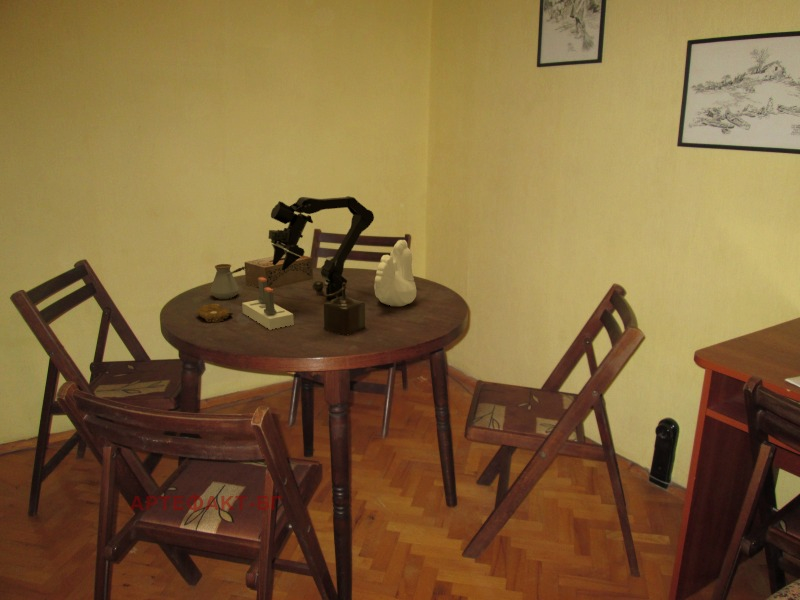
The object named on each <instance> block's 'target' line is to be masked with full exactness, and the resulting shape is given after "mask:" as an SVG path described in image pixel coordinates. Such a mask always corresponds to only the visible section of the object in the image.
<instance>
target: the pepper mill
mask: <svg viewBox="0 0 800 600" xmlns="http://www.w3.org/2000/svg"><path fill="white" fill-rule="evenodd" d="M342 285H343V286H342V288H341V289H340V290H339V291H337V292H335V293H333V294H329V295H326V293H325V292H324V288H325V282H324V281H321V280H316V281H315V282H313V283H312V286H311V287H312V289H313V290H314V291H315V295H316V296H317V297H324V298H327V297H332V296H335V295H336V299H333V300H331V301H330V300H329V301H327V302H325V303H323V329H324V330H326V331H328V330H329V332H331V331H332V332H331V333H334V332H336V333H335V334H338V333H339V334H338V335H342V334H344V335H343V336H348V335H347V334H349V335H351V334H353V332H354V333H356V332H358V330H359V331H361V330H362V329H365V328H366V307H365V306H366V302H364V301H361V300H356V299H353V298H350V297H348V296H347V295H346V289H347V283H345V282H343V283H342ZM342 291H343V296H341V297H338V295H337V294H339V293H341V292H342ZM360 329H361V330H360ZM355 331H356V332H355ZM350 333H351V334H350Z"/></svg>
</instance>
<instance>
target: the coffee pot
mask: <svg viewBox="0 0 800 600" xmlns="http://www.w3.org/2000/svg"><path fill="white" fill-rule="evenodd" d="M231 267H232V264H231V263H230V264H228V263H219V264H216V265H214V268H215V270H216V273H215V276H214V277H213V281H212V284H211V288H210V290H209V291H210V292H209V293H210V294H211V295H212V296H213V297H215V299H217V298H218V300H230V299H233V298H232V297H234V296H235V297H236V295H239V292H240V291H241V290H240V286H239V285H238V283H237V281H236V279H235V276H233V274H236V273H239V272H241V271H244V272H245V268H247V266H245V265H244V266H241V267H239V268H236V269H235V270H233V271H231ZM248 271H249V270H248ZM235 297H234V298H235ZM229 298H230V299H229Z"/></svg>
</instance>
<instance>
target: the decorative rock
mask: <svg viewBox="0 0 800 600" xmlns="http://www.w3.org/2000/svg"><path fill="white" fill-rule="evenodd" d="M195 313H196V314H197V315H199V317H200V318H202V319H204V320H205V321H206V322H207V323H216V324H217V323H220V322H224V320H226V319H228V318H229V316H233V315H234V313H233V312H232V311H231V310H230V309H228V308H226V307H223V306H220V304H218V303H210V304H205V305H201V306H200V307H199V309H198V310H196V311H195Z"/></svg>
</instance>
